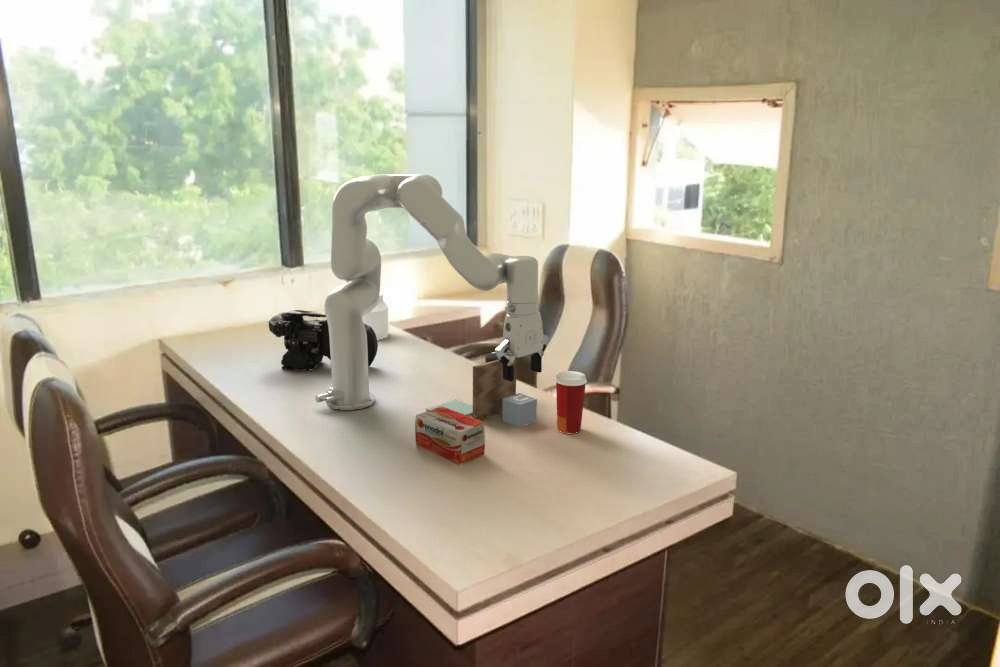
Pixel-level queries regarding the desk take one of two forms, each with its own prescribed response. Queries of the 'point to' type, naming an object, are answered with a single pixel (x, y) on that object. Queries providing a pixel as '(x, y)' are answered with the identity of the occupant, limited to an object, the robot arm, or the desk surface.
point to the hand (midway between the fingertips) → (522, 375)
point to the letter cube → (519, 409)
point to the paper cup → (570, 400)
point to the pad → (456, 407)
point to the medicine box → (450, 434)
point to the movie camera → (309, 339)
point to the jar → (378, 319)
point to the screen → (490, 389)
